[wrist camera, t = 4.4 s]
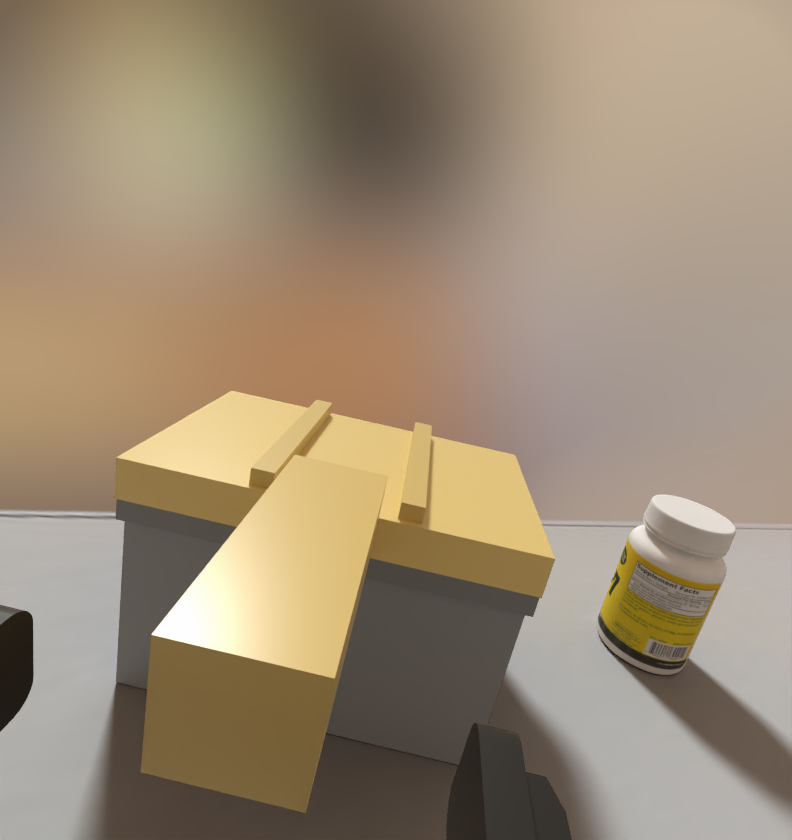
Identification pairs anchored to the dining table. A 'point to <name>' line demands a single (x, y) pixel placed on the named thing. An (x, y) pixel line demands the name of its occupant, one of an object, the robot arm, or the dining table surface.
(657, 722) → the dining table surface
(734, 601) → the dining table surface
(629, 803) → the dining table surface
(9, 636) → the robot arm
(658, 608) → the supplement bottle
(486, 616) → the grey box
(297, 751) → the lid
